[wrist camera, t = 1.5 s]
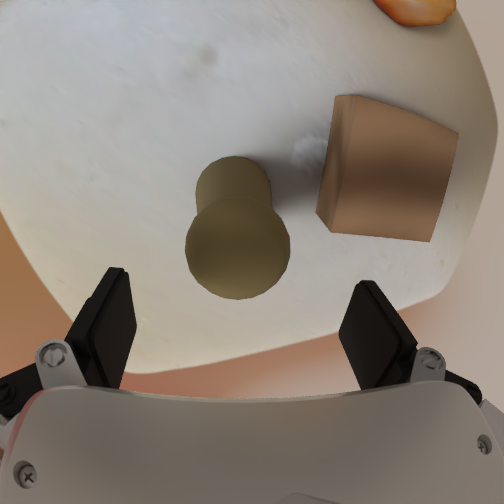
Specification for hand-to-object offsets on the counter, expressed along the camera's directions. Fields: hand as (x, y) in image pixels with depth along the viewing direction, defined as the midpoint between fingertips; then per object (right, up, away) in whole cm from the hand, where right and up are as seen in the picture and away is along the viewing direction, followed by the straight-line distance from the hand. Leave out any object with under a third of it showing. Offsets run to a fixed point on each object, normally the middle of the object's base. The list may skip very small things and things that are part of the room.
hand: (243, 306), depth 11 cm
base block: (+11, +10, +11) cm, 18 cm away
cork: (-1, +7, +11) cm, 13 cm away
